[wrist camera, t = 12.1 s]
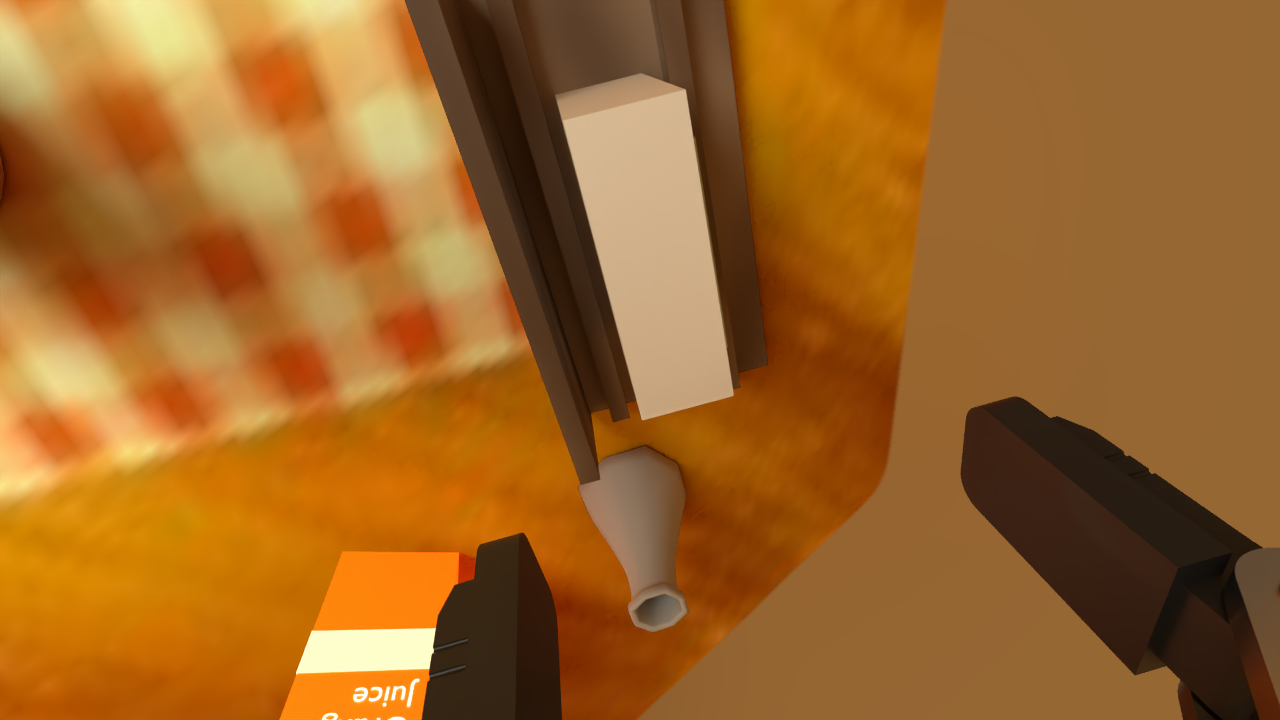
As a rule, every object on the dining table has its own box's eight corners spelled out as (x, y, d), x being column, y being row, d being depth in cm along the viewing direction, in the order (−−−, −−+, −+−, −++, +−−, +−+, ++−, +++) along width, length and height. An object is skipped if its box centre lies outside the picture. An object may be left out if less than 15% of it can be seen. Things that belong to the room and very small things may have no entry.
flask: (702, 492, 41) (746, 613, 32) (618, 542, 42) (640, 671, 34) (648, 427, 38) (681, 543, 29) (558, 483, 39) (564, 611, 30)
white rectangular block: (691, 307, 32) (740, 393, 24) (616, 327, 32) (642, 420, 24) (647, 71, 26) (694, 87, 18) (555, 95, 26) (562, 120, 18)
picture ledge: (573, 403, 36) (581, 484, 29) (432, -10, 25) (395, -25, 18) (759, 352, 36) (808, 422, 30) (704, -78, 25) (763, -117, 18)
